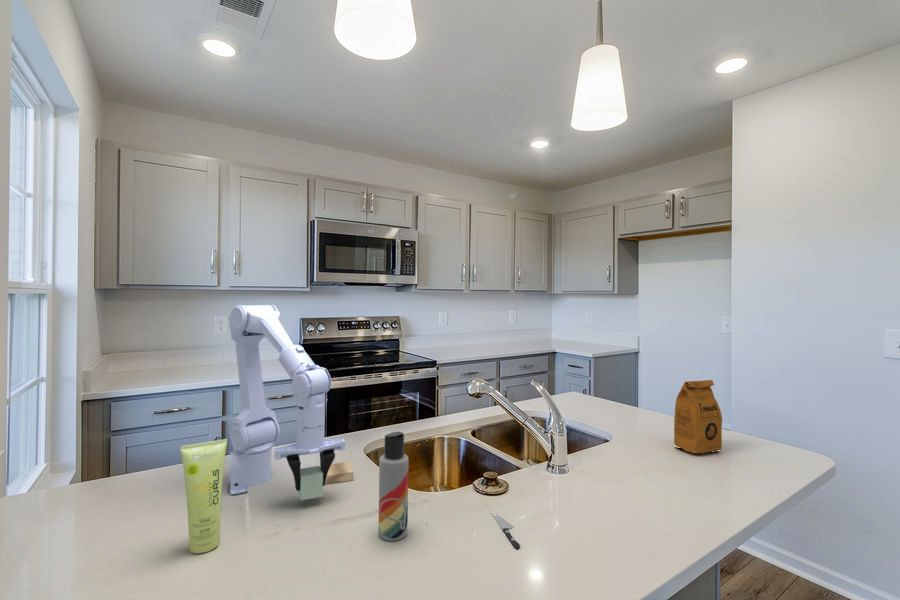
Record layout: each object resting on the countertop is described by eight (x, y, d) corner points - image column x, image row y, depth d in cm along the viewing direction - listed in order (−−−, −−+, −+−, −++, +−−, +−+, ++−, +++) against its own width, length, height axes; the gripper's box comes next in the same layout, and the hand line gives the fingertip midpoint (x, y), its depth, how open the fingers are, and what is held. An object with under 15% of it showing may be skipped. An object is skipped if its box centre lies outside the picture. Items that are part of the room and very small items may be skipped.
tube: (200, 559, 76) (201, 449, 76) (178, 553, 77) (179, 445, 77) (226, 541, 81) (227, 438, 81) (205, 536, 83) (206, 435, 83)
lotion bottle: (395, 545, 81) (396, 439, 81) (372, 535, 84) (373, 433, 84) (413, 531, 86) (414, 431, 86) (391, 523, 89) (392, 426, 89)
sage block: (300, 500, 91) (301, 477, 91) (297, 491, 95) (298, 469, 95) (322, 496, 93) (322, 473, 93) (318, 487, 97) (318, 465, 97)
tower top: (323, 484, 103) (324, 476, 103) (320, 473, 109) (320, 465, 109) (353, 480, 106) (353, 471, 106) (348, 469, 112) (348, 461, 112)
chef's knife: (495, 503, 99) (482, 503, 99) (495, 498, 99) (483, 498, 99) (529, 550, 81) (515, 551, 80) (530, 544, 81) (515, 545, 80)
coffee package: (727, 455, 131) (729, 382, 130) (693, 458, 128) (695, 384, 127) (701, 443, 140) (702, 376, 140) (669, 446, 137) (670, 377, 137)
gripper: (277, 434, 87) (276, 501, 87) (348, 425, 94) (347, 487, 94) (273, 424, 93) (273, 486, 93) (341, 417, 100) (340, 475, 100)
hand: (310, 486), depth 94 cm, fingers closed on sage block, 4 cm apart
